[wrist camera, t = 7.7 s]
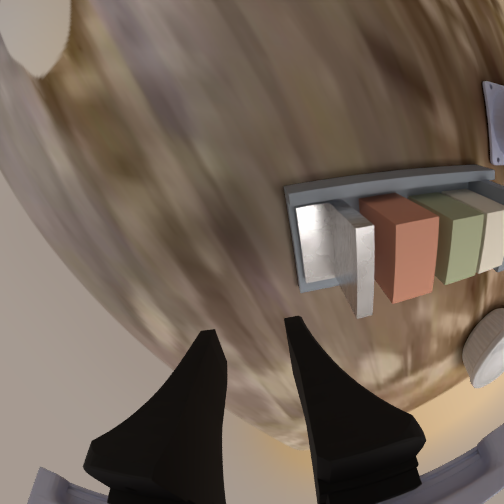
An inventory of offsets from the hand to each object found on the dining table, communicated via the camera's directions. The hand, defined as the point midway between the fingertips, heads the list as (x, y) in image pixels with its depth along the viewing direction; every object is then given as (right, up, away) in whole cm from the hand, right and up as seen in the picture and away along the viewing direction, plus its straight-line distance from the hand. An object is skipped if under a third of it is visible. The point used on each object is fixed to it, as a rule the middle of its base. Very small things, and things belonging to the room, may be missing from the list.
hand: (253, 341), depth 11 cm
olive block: (+13, +6, +7) cm, 16 cm away
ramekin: (+32, -7, +15) cm, 36 cm away
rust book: (+9, +5, +7) cm, 13 cm away
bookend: (+5, +5, +8) cm, 10 cm away
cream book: (+17, +7, +7) cm, 19 cm away
